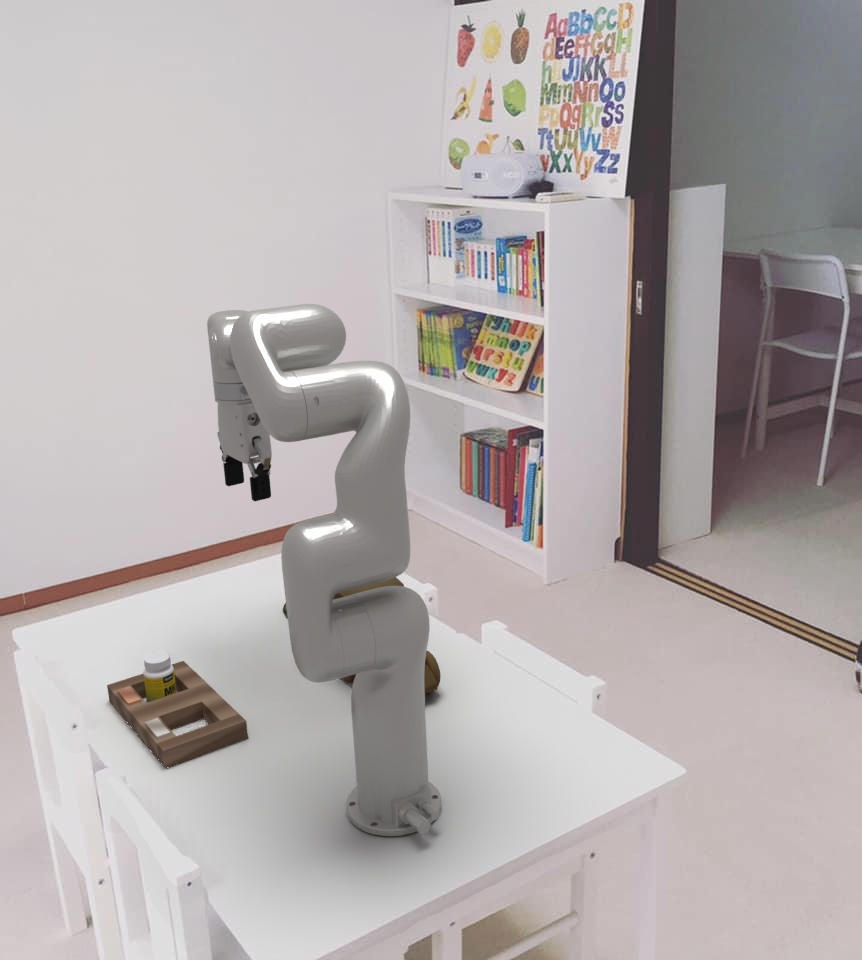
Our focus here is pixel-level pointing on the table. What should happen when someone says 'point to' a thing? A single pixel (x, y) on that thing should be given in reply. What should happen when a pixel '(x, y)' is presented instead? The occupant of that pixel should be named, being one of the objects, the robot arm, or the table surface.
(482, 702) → the table surface
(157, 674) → the supplement bottle
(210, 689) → the socket block
